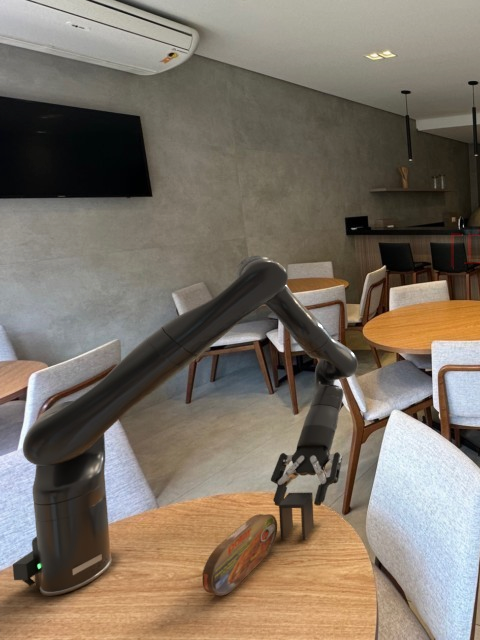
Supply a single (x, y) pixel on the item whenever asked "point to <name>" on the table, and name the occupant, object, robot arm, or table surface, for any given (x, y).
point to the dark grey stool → (306, 507)
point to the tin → (239, 554)
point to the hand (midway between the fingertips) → (297, 505)
